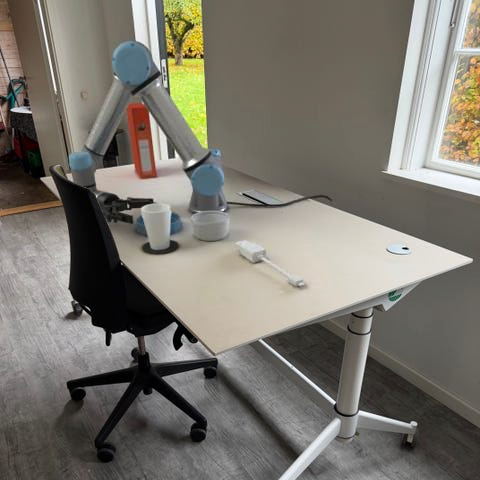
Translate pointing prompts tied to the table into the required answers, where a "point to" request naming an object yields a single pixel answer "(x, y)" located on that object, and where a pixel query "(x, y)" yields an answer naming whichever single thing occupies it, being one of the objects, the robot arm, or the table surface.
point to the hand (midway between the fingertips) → (147, 214)
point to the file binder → (141, 140)
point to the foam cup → (157, 224)
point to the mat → (149, 250)
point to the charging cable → (259, 254)
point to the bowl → (174, 224)
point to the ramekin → (210, 225)
